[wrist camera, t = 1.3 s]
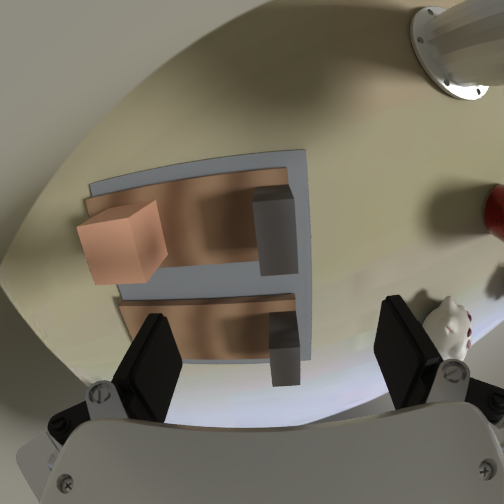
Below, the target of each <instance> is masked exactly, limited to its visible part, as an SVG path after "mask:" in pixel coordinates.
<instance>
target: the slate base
mask: <svg viewBox="0 0 504 504" xmlns="http://www.w3.org/2000/svg"><path fill="white" fill-rule="evenodd" d="M276 167H287V171H288V183H289V186H290V189H291V191H292V194H293V196H294V201H295V215H296V231H297V250H298V272H299V274H287V275H274V276H261V275H260V266H259V261H251V262H238V263H224V264H210V265H196V266H182V267H167V268H157V270H156V271H155V272H154V274H153V275H152V276H151V278H150V279H149V280H148V282H147V283H135V284H118V287H119V290H120V292H121V295H122V298H123V300H124V301H159V300H194V299H218V298H238V297H255V296H270V295H284V294H295V299H296V315H297V323H298V332H299V340H300V361H305V360H311V337H312V259H311V228H310V206H309V189H308V174H307V161H306V150H305V149H300V150H285V151H273V152H262V153H252V154H243V155H234V156H227V157H219V158H212V159H205V160H199V161H192V162H186V163H181V164H175V165H170V166H164V167H159V168H154V169H149V170H144V171H140V172H135V173H131V174H126V175H122V176H118V177H114V178H110V179H106V180H102V181H98V182H94V183H92V184H90V188H91V193H92V197H94V196H98V195H102V194H106V193H111V192H115V191H120V190H125V189H129V188H134V187H139V186H145V185H150V184H155V183H161V182H166V181H172V180H178V179H185V178H191V177H198V176H205V175H212V174H220V173H228V172H236V171H245V170H255V169H265V168H276ZM182 363H187V364H258V363H270V358H267V359H239V360H199V359H182Z"/></svg>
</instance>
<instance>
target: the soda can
mask: <svg viewBox="0 0 504 504" xmlns="http://www.w3.org/2000/svg"><path fill="white" fill-rule="evenodd" d="M483 215H484V223H485V226H486V228H487V230H488V232H490V233H491V234H492V235H494V236H495V237H497V238H498V239H500V240H501V241H503V242H504V185H503V184H501V185H497V186H495V187H494V188H493V189H492V190H491V191H490V192H489V194H488V196H487V198H486V201H485V204H484V212H483Z"/></svg>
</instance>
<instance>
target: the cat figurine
mask: <svg viewBox="0 0 504 504" xmlns="http://www.w3.org/2000/svg"><path fill="white" fill-rule="evenodd" d="M423 328H424V329H425V331H426V333H427V334H428V336H429V337H430V339H431V340H432V342H433V343H434V345H435V347H436V348H437V350H438V352H439V353H440V355H441V356H442V358H443V360H447V359H458V360H461V361H463V360H464V357H465V355H466V353H467V348H468V349H470V348H471V341H470V339H471V335H472V324H471V315H470V314H469V312H468V311H466V309H465V308H464V307H463V306H462V305H456V304H455V302H454V300H453V298H452V297H450V296H447V297H445V299H444V300H443V301H442V303H441V305H440V306H439V308H437V309H435V310H433V311H432V312H431V313H430V314H429V315H428V316H427V317H426V319H425V321H424V323H423Z"/></svg>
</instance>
